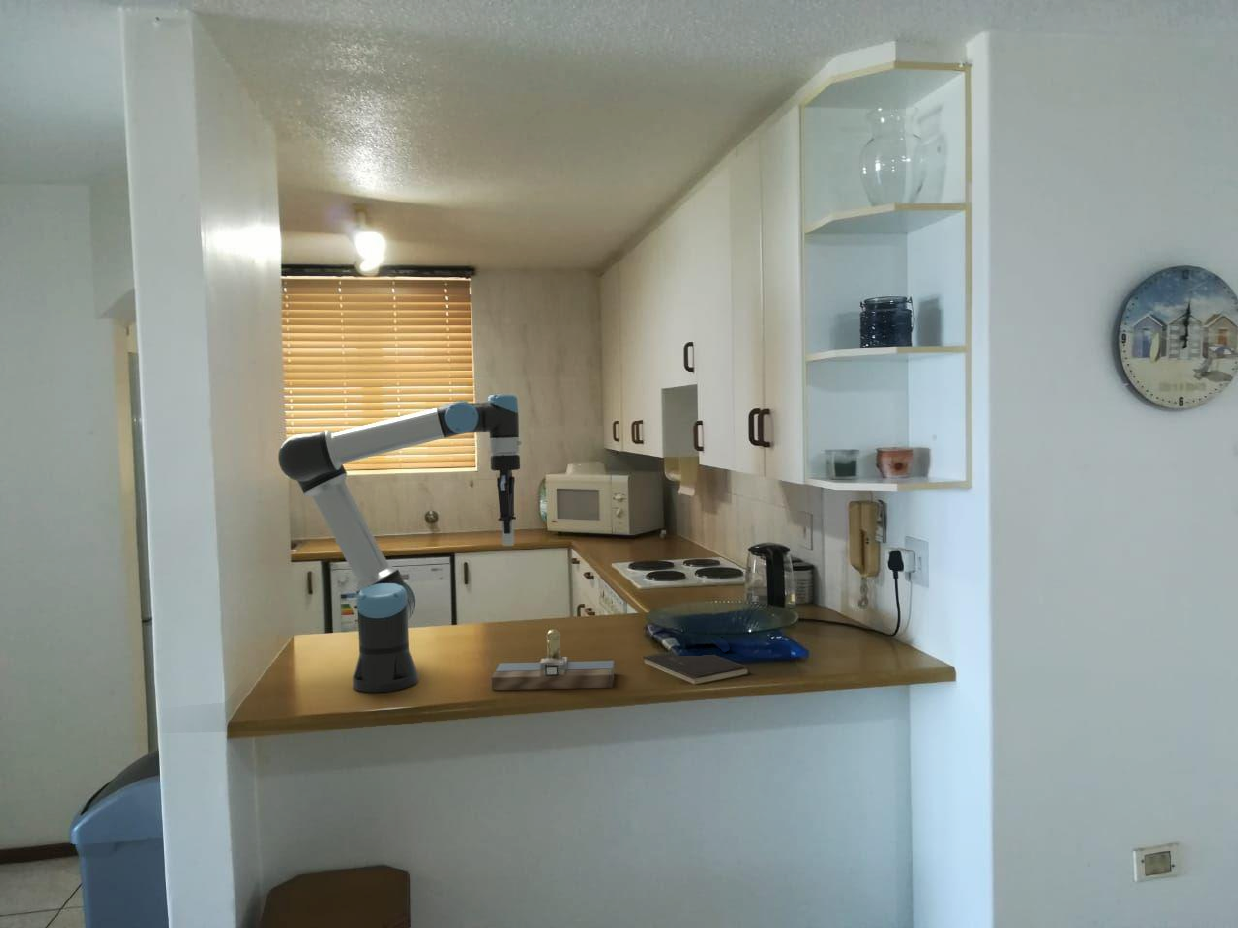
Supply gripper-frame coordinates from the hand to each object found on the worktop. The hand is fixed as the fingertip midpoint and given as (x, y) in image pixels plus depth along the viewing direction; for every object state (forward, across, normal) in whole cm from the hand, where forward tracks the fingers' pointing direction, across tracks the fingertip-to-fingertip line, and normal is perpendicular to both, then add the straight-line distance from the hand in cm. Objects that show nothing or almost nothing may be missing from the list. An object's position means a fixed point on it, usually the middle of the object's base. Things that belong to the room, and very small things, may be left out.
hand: (508, 545), depth 229 cm
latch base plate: (+30, -16, -13) cm, 37 cm away
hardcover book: (+31, -10, -47) cm, 57 cm away
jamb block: (+30, -22, -13) cm, 40 cm away
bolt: (+27, -21, -13) cm, 37 cm away
